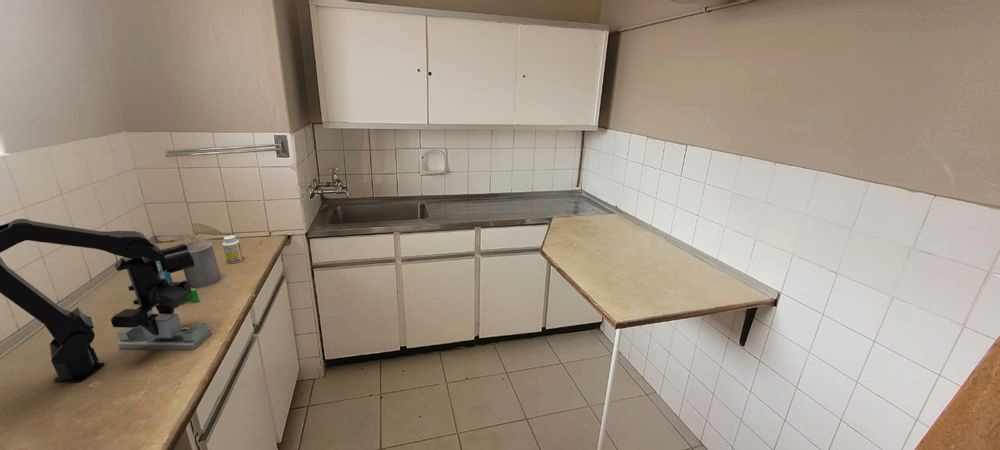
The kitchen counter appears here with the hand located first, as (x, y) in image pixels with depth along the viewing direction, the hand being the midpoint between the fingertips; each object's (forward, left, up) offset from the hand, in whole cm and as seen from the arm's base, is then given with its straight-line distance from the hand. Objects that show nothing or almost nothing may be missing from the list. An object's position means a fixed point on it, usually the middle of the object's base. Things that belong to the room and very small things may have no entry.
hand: (163, 330), depth 108 cm
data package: (+25, +23, -4) cm, 34 cm away
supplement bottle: (+51, +14, -4) cm, 53 cm away
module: (0, 0, -1) cm, 1 cm away
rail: (0, 0, -4) cm, 4 cm away
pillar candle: (+34, +14, -4) cm, 37 cm away
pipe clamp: (+21, +12, -4) cm, 25 cm away
